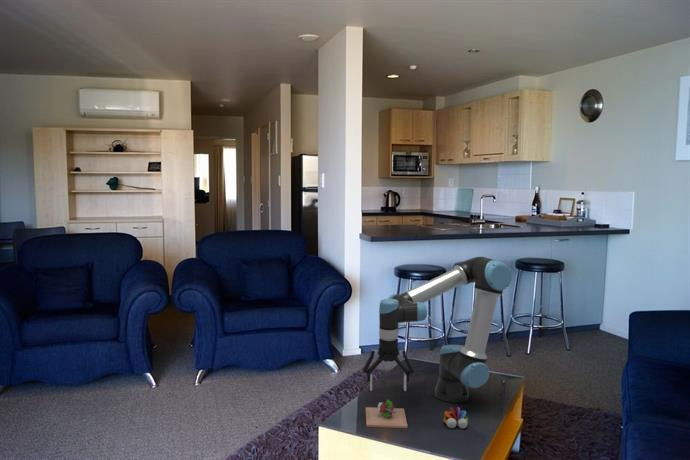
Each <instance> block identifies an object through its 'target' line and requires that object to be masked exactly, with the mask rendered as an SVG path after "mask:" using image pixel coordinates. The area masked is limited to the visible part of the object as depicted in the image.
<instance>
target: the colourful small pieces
mask: <svg viewBox="0 0 690 460" xmlns="http://www.w3.org/2000/svg"><path fill="white" fill-rule="evenodd" d="M449 410H450V411H447V410H446V411H444V418H443V423H445V424H446V426H447V427H448V428H450V429H455V428H456V427H457V426H458V427H459V428H460V429H466V428H467V427H468V424H469V423H468V422H469V419H468V417H467V410H461V408H460V407H456V408H455V409H454V408H453V407H450V408H449Z"/></svg>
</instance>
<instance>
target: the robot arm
mask: <svg viewBox="0 0 690 460" xmlns="http://www.w3.org/2000/svg"><path fill="white" fill-rule="evenodd" d="M511 281H512V271H511V269H510V268H509V265H507V264H506V263H504V262H502V261H500V260H498V259H492V258H489V257H486V256H475V257H472V258H469V259H467V260H464V261H462V262H460V263H458V264H456V265H454V266H453V268H452V269H450V270H448V271H447V272H444V273H442V274H440V275H439V276H436V277H434V278H432V279H430V280H428V281H426V282H424V283H422V284H420V285H418V286H416V287H414V288H411V289H409V290H407V291H405V292H404V293H401V294H399V293H398V294H397V293H394V294H391V295H390V296H389V297H388V298H384V299H381V300H380V302H379V309H378V313H379V315H378V316H379V318H378V319H379V321H378V322H379V324H378V325H379V327H378V334H379V339H378V349H374V348H372V349H371V350H370V354H369V357H368V358H367V360H366V362H365V364H364V366H363V368H362V372H363V373H364V374H367V377H366V378H367V379H366V380H367V381H366V382H368V383H369V390H370V391H373V372H374V371H375V369H376V368H377V367H378V366H379V364H380V363H381V364H382V362H384V363H385V362H387V363H388V362H390V363H391V362H394V361H395V363H396V364H397V365H398V366H399V368H400V369H401V370H403V391H404V392H406V391H407V383H409V381H410V375H411V374H414V368H413V367H412V364H411V362H410V361H409V358H408V356H407V352H406V351H407V350H406V349H405V348H403V349H402V350H401V349H400V350H399V324H401V323H402V324H403V323H416V322H417V323H418V322H423V321H425V320H426V319H427V316H428V308H427V305H426V304H425V303H426V302H428V301H431V300H432V299H435V298H436V297H438V296H441V295H443V294H445V293H447V292H449V291H451V290H454V289H455V288H457V287H459V286H461V285H462V286H468V285H469V284H473V283H475V284H474V287H473V288H474V290H475V292H476V296H475V298H474V299H475V300H474V305H473V308H472V312H471V317H470V321H469V324H468V325H469V326H468V329H467V334H466V339H465V343H464V345H461V344H445V345H443V346H441V348H440V353H439V375H438V377H439V378H438V380H437V383H436V384H435V387H434V396H435V398H437V399H439V400H441V401H444V402H446V403H447V402H448V403H464V402H466V401H468V400H469V398H470V397H469V396H470V392H469V388H471V389H477V388H481V387H482V386H484V385H485V384H486V383H487V381H488V380H489V378H490V369H489V367H488V365H487V361H488V356H487V354H486V349H487V345H488V340H489V336H490V331H491V329H492V327H491V326H492V324H493V323H492V321H493V318H494V315H495V310H496V309H495V308H496V305H497V302H498V301H497V300H498V298H499V297H500V296H502V295H503V293H504V290H506V289H507V288H508V287H509V286H510V284H511ZM399 354H400V356H402V358H403V359H404V361H405V363H406V365H407V367H408V368H407V367H406V366H405V365H404V364H403V362H402V361H401V360H400V358H399V357H398V356H399ZM376 355H378V357H377V359H376V360H374V357H375V356H376ZM373 360H374V362H373V363H372V361H373ZM371 363H372V364H371ZM370 365H371V366H370Z"/></svg>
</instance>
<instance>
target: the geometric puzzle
mask: <svg viewBox="0 0 690 460" xmlns="http://www.w3.org/2000/svg"><path fill="white" fill-rule="evenodd" d="M376 408H377V409H378V411H379V409H380V411H379V413H382V415H383V416H384V417H385V418H387V419H388V416H389V415H393V414H392V413H393V412H394V411H393V410H394V408H396V404H394V402H393V401H391V400H390V399H388V398H386V399H385V400H383V401H382V402H378V404H377V407H376ZM395 410H396V409H395ZM394 413H396V411H395V412H394ZM390 417H391V416H390Z"/></svg>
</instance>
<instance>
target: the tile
mask: <svg viewBox="0 0 690 460" xmlns="http://www.w3.org/2000/svg"><path fill="white" fill-rule="evenodd" d="M377 408H378V407H372V406H371V407H370V406H368V407H367V406H365V423H366V427H368V428H369V427H370V428H371V427H372V428H374V427H375V428H391V429H392V428H396V429H397V428H398V429H408V427H409V426H408V423H407V418H406V413H405V408H402V407H401V408H396V407H394V410H393V411H394V412H395V411H396V413H394V412H393V413H392V414H393V415H389V416H388V419H387V418H385V417H384V416H383V415H382V413H379V411H380V409H379V411H378V409H377ZM395 409H396V410H395ZM390 416H391V417H390Z"/></svg>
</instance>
